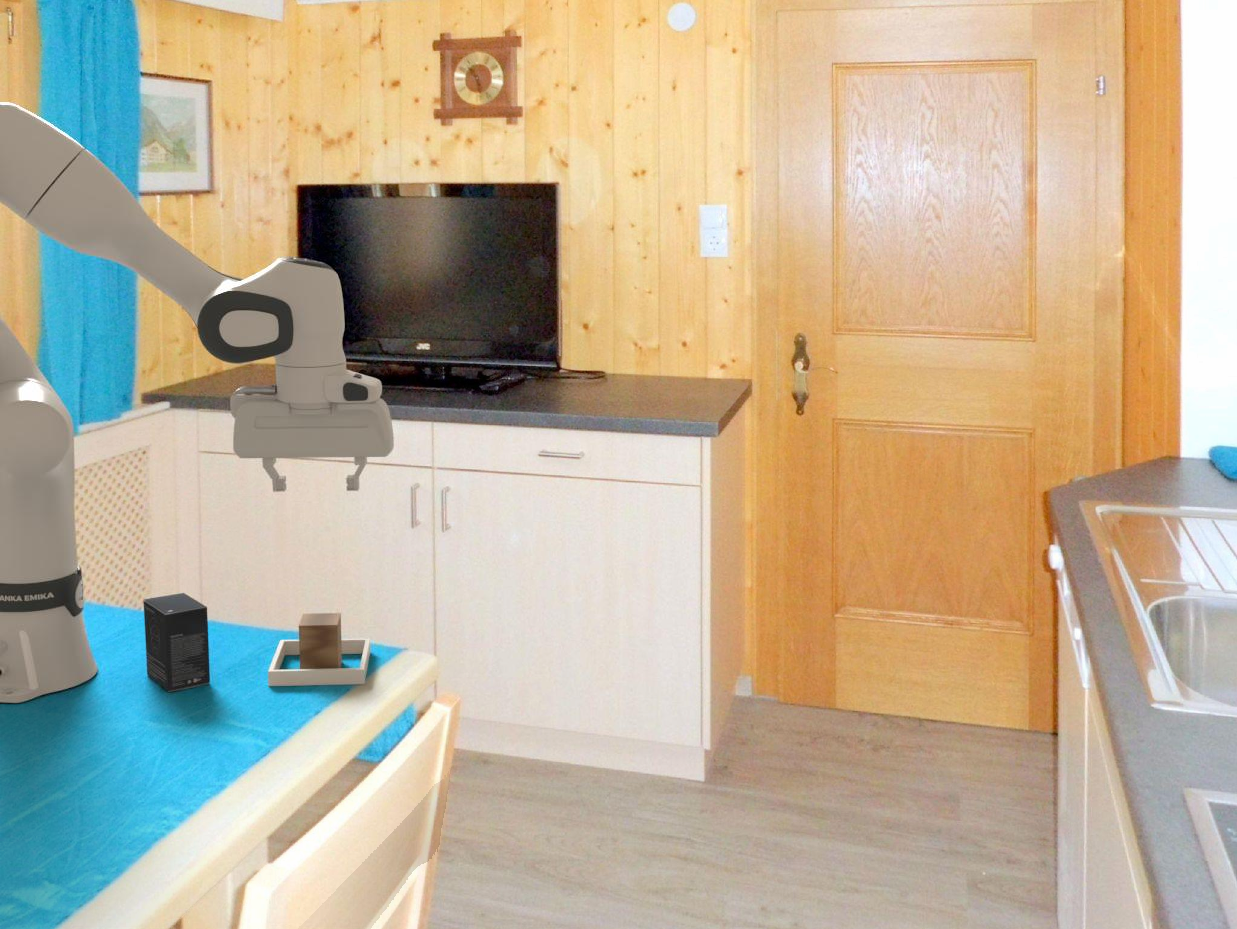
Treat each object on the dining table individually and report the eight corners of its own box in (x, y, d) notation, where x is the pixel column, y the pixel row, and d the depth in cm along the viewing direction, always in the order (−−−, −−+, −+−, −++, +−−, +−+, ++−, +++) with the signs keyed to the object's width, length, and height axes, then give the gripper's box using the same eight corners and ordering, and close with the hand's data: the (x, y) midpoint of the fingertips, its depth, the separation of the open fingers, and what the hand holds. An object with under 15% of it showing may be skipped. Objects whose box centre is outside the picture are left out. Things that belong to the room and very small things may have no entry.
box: (211, 684, 173) (208, 606, 171) (168, 693, 170) (164, 614, 167) (188, 666, 179) (184, 591, 177) (145, 675, 175) (141, 598, 173)
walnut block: (300, 676, 177) (298, 625, 175) (304, 662, 181) (303, 613, 180) (338, 675, 177) (337, 625, 176) (341, 662, 182) (340, 613, 181)
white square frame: (268, 686, 173) (267, 671, 172) (280, 653, 184) (280, 639, 184) (364, 684, 174) (364, 669, 174) (370, 652, 186) (370, 638, 185)
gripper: (223, 389, 167) (230, 497, 170) (389, 388, 169) (392, 495, 172) (234, 382, 173) (240, 485, 176) (393, 381, 175) (396, 483, 178)
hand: (316, 490), depth 174 cm, fingers open, 8 cm apart
